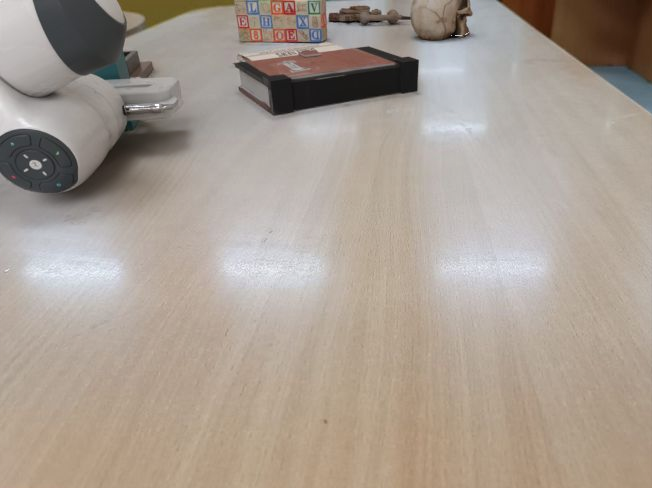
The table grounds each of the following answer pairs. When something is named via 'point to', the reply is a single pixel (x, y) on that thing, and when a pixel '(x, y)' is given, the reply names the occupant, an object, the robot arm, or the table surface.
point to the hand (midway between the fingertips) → (113, 84)
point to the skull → (440, 18)
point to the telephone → (366, 15)
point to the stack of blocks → (281, 20)
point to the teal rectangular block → (117, 72)
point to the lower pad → (137, 65)
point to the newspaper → (286, 51)
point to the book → (326, 78)
